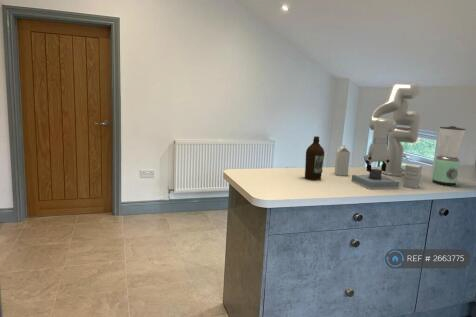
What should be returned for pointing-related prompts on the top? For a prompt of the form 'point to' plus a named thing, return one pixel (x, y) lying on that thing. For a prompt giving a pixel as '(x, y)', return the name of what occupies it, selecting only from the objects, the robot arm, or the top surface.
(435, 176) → the mint green blender
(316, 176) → the olive oil
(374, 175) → the plug
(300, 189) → the top surface
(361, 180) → the socket plate
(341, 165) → the milk carton
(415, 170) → the supplement box
